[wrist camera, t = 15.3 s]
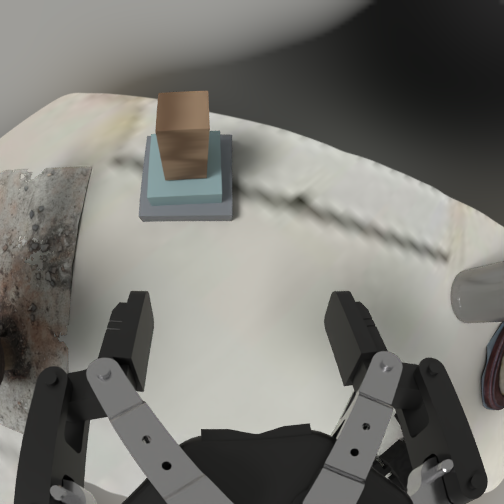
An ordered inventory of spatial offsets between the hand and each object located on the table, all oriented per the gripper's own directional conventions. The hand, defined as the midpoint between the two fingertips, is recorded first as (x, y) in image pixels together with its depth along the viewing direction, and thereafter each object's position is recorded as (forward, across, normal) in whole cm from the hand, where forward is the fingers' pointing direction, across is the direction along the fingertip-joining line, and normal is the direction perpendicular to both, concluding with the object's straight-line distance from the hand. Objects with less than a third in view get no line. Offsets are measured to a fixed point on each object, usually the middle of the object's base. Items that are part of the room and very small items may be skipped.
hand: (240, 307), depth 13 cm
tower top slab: (+30, +5, +5) cm, 31 cm away
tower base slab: (+32, +5, +7) cm, 33 cm away
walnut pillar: (+27, +5, +2) cm, 28 cm away
